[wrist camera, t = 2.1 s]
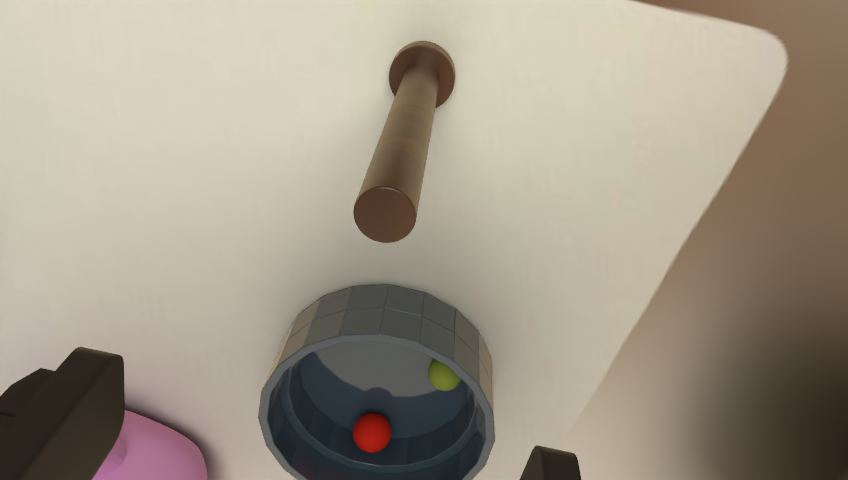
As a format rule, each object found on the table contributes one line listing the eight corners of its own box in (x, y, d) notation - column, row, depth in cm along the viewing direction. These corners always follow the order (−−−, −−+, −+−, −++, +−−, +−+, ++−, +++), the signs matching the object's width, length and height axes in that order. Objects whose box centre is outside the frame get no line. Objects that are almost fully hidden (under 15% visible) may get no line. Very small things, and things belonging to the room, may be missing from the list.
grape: (466, 352, 44) (466, 375, 42) (458, 377, 45) (457, 401, 43) (433, 344, 44) (431, 367, 42) (425, 370, 45) (423, 394, 43)
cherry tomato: (396, 409, 47) (392, 437, 45) (389, 435, 49) (385, 464, 46) (359, 401, 47) (353, 429, 45) (353, 428, 49) (347, 456, 46)
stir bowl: (517, 307, 43) (524, 365, 38) (462, 461, 50) (461, 527, 45) (296, 258, 42) (271, 310, 37) (273, 421, 50) (249, 484, 44)
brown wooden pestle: (461, 49, 35) (453, 177, 19) (446, 111, 37) (427, 275, 21) (398, 34, 35) (337, 150, 19) (385, 96, 37) (320, 251, 21)
